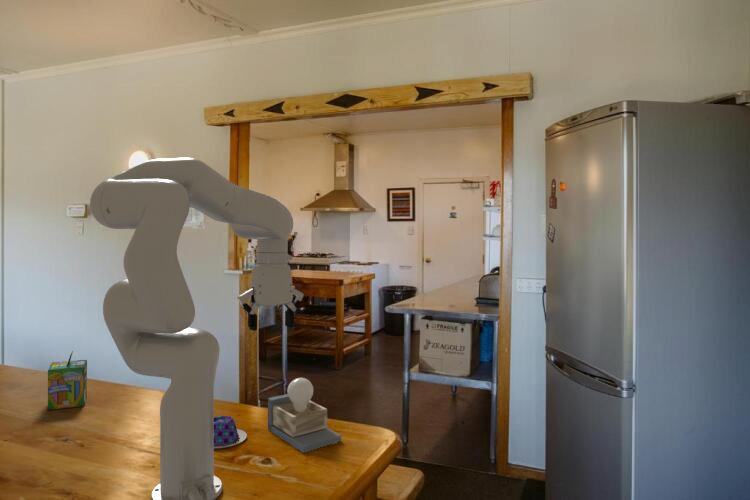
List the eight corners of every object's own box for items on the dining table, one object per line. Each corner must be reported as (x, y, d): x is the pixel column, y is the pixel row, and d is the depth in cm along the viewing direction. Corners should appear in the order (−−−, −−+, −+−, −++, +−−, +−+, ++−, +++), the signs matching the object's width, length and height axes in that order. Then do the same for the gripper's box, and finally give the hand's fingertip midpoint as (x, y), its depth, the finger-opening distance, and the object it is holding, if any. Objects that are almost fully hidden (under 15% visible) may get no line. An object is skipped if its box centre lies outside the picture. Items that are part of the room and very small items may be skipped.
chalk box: (51, 401, 149) (51, 350, 149) (87, 397, 153) (87, 348, 152) (46, 411, 141) (45, 357, 140) (84, 406, 144) (84, 354, 144)
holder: (327, 427, 126) (327, 408, 126) (292, 437, 120) (293, 417, 120) (306, 416, 134) (306, 398, 134) (272, 424, 128) (273, 405, 128)
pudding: (186, 439, 123) (186, 417, 123) (233, 427, 131) (233, 407, 131) (207, 456, 114) (207, 432, 114) (255, 442, 122) (255, 420, 122)
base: (341, 441, 122) (341, 408, 122) (303, 453, 115) (303, 418, 115) (303, 420, 136) (303, 390, 135) (267, 429, 129) (267, 398, 129)
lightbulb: (307, 427, 123) (308, 382, 123) (283, 425, 124) (283, 380, 124) (316, 418, 129) (316, 375, 129) (292, 416, 131) (293, 373, 130)
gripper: (296, 259, 135) (295, 323, 136) (233, 259, 125) (232, 329, 125) (310, 260, 129) (309, 327, 130) (244, 260, 119) (243, 333, 119)
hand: (271, 328), depth 128 cm, fingers open, 9 cm apart
